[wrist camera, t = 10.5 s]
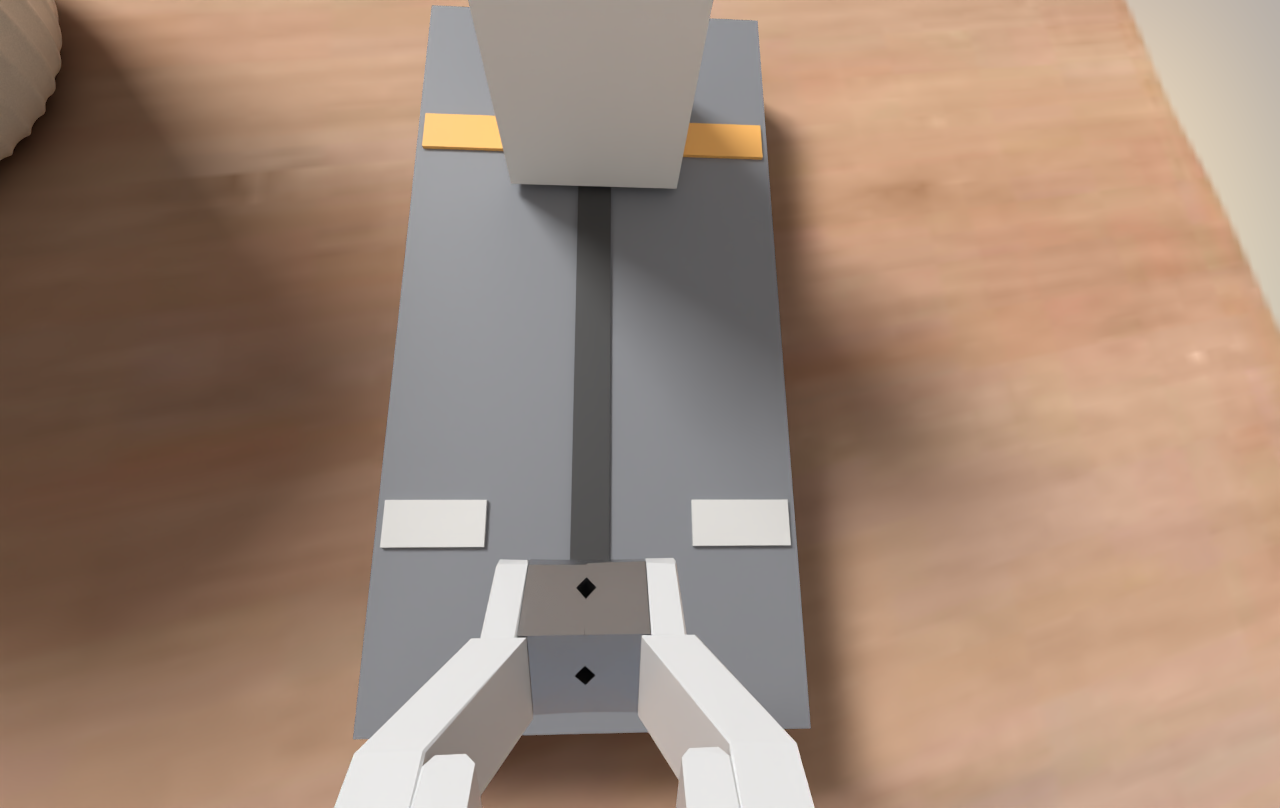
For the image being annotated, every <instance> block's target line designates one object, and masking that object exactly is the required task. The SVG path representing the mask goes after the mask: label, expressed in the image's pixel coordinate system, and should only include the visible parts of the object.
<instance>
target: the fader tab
mask: <svg viewBox="0 0 1280 808" xmlns="http://www.w3.org/2000/svg"><path fill="white" fill-rule="evenodd" d="M468 2H469V6H470V10H471V15H472V19H473V23H474V27H475V32H476V36H477V40H478V44H479V49H480V53H481V57H482V61H483V66H484V70H485V74H486V79H487V83H488V87H489V91H490V96H491V100H492V104H493V108H494V113H495V117H496V121H497V125H498V130H499V134H500V138H501V142H502V147H503V151H504V155H505V159H506V164H507V168H508V172H509V176H510V181H511V184H535V185H569V186H602V187H635V188H668V189H677V184H678V179H679V174H680V169H681V164H682V158H683V153H684V148H685V143H686V138H687V133H688V127H689V122H690V117H691V112H692V107H693V102H694V96H695V91H696V86H697V81H698V76H699V71H700V65H701V60H702V55H703V50H704V45H705V40H706V34H707V29H708V24H709V19H710V14H711V9H712V3H713V0H468Z"/></svg>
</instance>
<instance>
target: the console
mask: <svg viewBox="0 0 1280 808" xmlns="http://www.w3.org/2000/svg"><path fill="white" fill-rule="evenodd" d="M645 558H674V560H675V561H676V565H677V572H678V579H679V586H680V593H681V600H682V607H683V614H684V620H685V627H686V634H687V635H696V636H697V637H698V638H699V639H700V640H701V641H702V642H703V643H704V644H705V646H706V647H707V648H708V649H709V650H710V651H711V652H712V653H713V654H714V655H715V656H716V657H717V658H718V659H719V661H720V662H721V663H722V664H723V665H724V666H725V667H726V668H727V669H728V670H729V671H730V672H731V673H732V674H733V676H734V677H735V678H736V679H737V680H738V681H739V682H740V683H741V684H742V685H743V686H744V687H745V688H746V689H747V691H748V692H749V693H750V694H751V695H752V696H753V697H754V698H755V699H756V700H757V701H758V702H759V703H760V704H761V706H762V707H763V708H764V709H765V710H766V711H767V712H768V713H769V714H770V715H771V716H772V717H773V718H774V719H775V720H776V722H777V723H778V724H779V725H780V726H781V727H782V728H783V729H805V728H811V725H810V712H809V699H808V686H807V672H806V659H805V646H804V633H803V619H802V606H801V593H800V579H799V566H798V553H797V540H796V526H795V513H794V500H793V487H792V473H791V460H790V447H789V433H788V420H787V407H786V394H785V380H784V367H783V354H782V341H781V327H780V314H779V301H778V288H777V274H776V261H775V248H774V234H773V221H772V208H771V195H770V181H769V168H768V155H767V142H766V128H765V115H764V102H763V89H762V75H761V62H760V49H759V35H758V22H757V21H752V20H731V19H709V24H708V29H707V34H706V40H705V45H704V50H703V55H702V60H701V65H700V71H699V76H698V81H697V86H696V91H695V96H694V102H693V107H692V112H691V117H690V122H689V127H688V133H687V138H686V143H685V148H684V153H683V158H682V164H681V169H680V174H679V179H678V184H677V189H668V188H635V187H602V186H569V185H535V184H511V181H510V176H509V172H508V168H507V164H506V159H505V155H504V151H503V147H502V142H501V138H500V134H499V130H498V125H497V121H496V117H495V113H494V108H493V104H492V100H491V96H490V91H489V87H488V83H487V79H486V74H485V70H484V66H483V61H482V57H481V53H480V49H479V44H478V40H477V36H476V32H475V27H474V23H473V19H472V15H471V10H470V7H455V6H434V5H432V9H431V18H430V28H429V37H428V46H427V56H426V65H425V74H424V83H423V93H422V102H421V111H420V121H419V130H418V139H417V149H416V158H415V167H414V176H413V186H412V195H411V204H410V214H409V223H408V232H407V242H406V251H405V260H404V270H403V279H402V288H401V297H400V307H399V316H398V325H397V335H396V344H395V353H394V363H393V372H392V381H391V390H390V400H389V409H388V418H387V428H386V437H385V446H384V456H383V465H382V474H381V484H380V493H379V502H378V511H377V521H376V530H375V539H374V549H373V558H372V567H371V577H370V586H369V595H368V604H367V614H366V623H365V632H364V642H363V651H362V660H361V670H360V679H359V688H358V698H357V707H356V716H355V725H354V735H353V739H370V738H371V737H372V736H373V735H374V734H375V733H376V732H377V731H378V730H379V729H380V728H381V727H382V726H383V725H384V724H385V723H386V722H387V721H388V720H389V719H390V718H391V717H392V716H393V715H394V714H395V713H396V712H397V711H398V710H399V709H400V708H401V707H402V706H403V705H404V704H405V703H406V702H407V701H408V700H409V699H410V698H411V697H412V696H413V695H414V694H415V693H416V692H417V691H418V690H419V689H420V688H421V687H422V686H423V685H424V684H425V683H426V682H427V681H428V680H430V679H431V678H432V677H433V676H434V675H435V674H436V673H437V672H438V671H439V670H440V669H441V668H442V667H443V666H444V665H445V664H446V663H447V662H448V661H449V660H450V659H451V658H452V657H453V656H454V655H455V654H456V653H457V652H458V651H459V650H460V649H461V648H462V647H463V646H464V645H465V644H466V643H467V642H468V641H469V640H470V639H472V638H480V637H481V632H482V628H483V623H484V619H485V614H486V610H487V605H488V601H489V596H490V592H491V587H492V583H493V578H494V574H495V569H496V566H497V564H498V562H499V560H500V559H507V560H530V559H548V560H600V559H644V560H645ZM638 732H648V731H647V729H646V727H645V726H644V724H643V723H642V721H641V720H640V718H639V716H638V712H579V713H561V714H542V715H533V719H532V721H531V722H530V724H529V725H528V727H527V728H526V730H525V731H524V733H523V734H522V735H554V734H596V733H638Z"/></svg>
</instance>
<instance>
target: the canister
mask: <svg viewBox="0 0 1280 808" xmlns="http://www.w3.org/2000/svg"><path fill="white" fill-rule="evenodd" d="M58 22H59V17H58V12H57V7H56V4H55V1H54V0H0V160H2V159H3V158H5V157H7V156H11V155H12V154H13V150H14V148H15V146H16V144H17V143H18V142H19V141H20V140H22V139H23V138H25V137H27V136H29V135H30V134H31V128H32V126H33V124H34V122H35V121H36V120H37V119H38V118H39V117H40V116H42V115H43V114H44V113H45V104H46V101H47V98H48V97H49V96H51V95H52V94H53V93H54V91H55V87H56V83H55V76H56V75H57V74H58V73H59V71H60V68H61V57H60V50H61V47H62V34H61V29H60V26H59V24H58Z"/></svg>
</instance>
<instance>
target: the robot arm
mask: <svg viewBox="0 0 1280 808" xmlns="http://www.w3.org/2000/svg"><path fill="white" fill-rule="evenodd" d="M579 712H638V716H639V718H640V720H641V721H642V723H643V724H644V726H645V727H646V729H647V731H648V732H649V734H650V735H651V737H652V739H653V740H654V742H655V743H656V745H657V747H658V748H659V750H660V751H661V753H662V754H663V756H664V758H665V759H666V761H667V762H668V764H669V766H670V767H671V769H672V770H673V772H674V774H675V775H676V777H677V778H678V780H679V785H678V793H677V801H676V808H815V807H814V804H813V800H812V797H811V793H810V790H809V786H808V782H807V779H806V775H805V772H804V768H803V765H802V761H801V757H800V754H799V750H798V747H797V743H796V742H795V741H794V740H793V739H792V738H791V737H790V735H789V734H788V733H787V732H786V731H785V730H784V729H783V728H782V727H781V726H780V725H779V724H778V723H777V722H776V720H775V719H774V718H773V717H772V716H771V715H770V714H769V713H768V712H767V711H766V710H765V709H764V708H763V707H762V706H761V704H760V703H759V702H758V701H757V700H756V699H755V698H754V697H753V696H752V695H751V694H750V693H749V692H748V691H747V689H746V688H745V687H744V686H743V685H742V684H741V683H740V682H739V681H738V680H737V679H736V678H735V677H734V676H733V674H732V673H731V672H730V671H729V670H728V669H727V668H726V667H725V666H724V665H723V664H722V663H721V662H720V661H719V659H718V658H717V657H716V656H715V655H714V654H713V653H712V652H711V651H710V650H709V649H708V648H707V647H706V646H705V644H704V643H703V642H702V641H701V640H700V639H699V638H698V637H697V636H696V635H687V634H686V627H685V620H684V614H683V607H682V600H681V593H680V586H679V579H678V572H677V565H676V561H675V560H674V558H645V560H644V559H600V560H548V559H530V560H507V559H500V560H499V562H498V564H497V566H496V569H495V574H494V578H493V583H492V587H491V592H490V596H489V601H488V605H487V610H486V614H485V619H484V623H483V628H482V632H481V637H480V638H472V639H470V640H469V641H468V642H467V643H466V644H465V645H464V646H463V647H462V648H461V649H460V650H459V651H458V652H457V653H456V654H455V655H454V656H453V657H452V658H451V659H450V660H449V661H448V662H447V663H446V664H445V665H444V666H443V667H442V668H441V669H440V670H439V671H438V672H437V673H436V674H435V675H434V676H433V677H432V678H431V679H430V680H428V681H427V682H426V683H425V684H424V685H423V686H422V687H421V688H420V689H419V690H418V691H417V692H416V693H415V694H414V695H413V696H412V697H411V698H410V699H409V700H408V701H407V702H406V703H405V704H404V705H403V706H402V707H401V708H400V709H399V710H398V711H397V712H396V713H395V714H394V715H393V716H392V717H391V718H390V719H389V720H388V721H387V722H386V723H385V724H384V725H383V726H382V727H381V728H380V729H379V730H378V731H377V732H376V733H375V734H374V735H373V736H372V737H371V738H370V739H369V740H368V741H367V742H366V743H365V744H364V745H363V746H362V747H361V748H360V749H359V750H358V751H357V752H356V753H355V754H354V755H353V758H352V761H351V763H350V766H349V769H348V772H347V774H346V777H345V780H344V782H343V785H342V788H341V790H340V793H339V796H338V799H337V801H336V804H335V807H334V808H482V802H481V795H482V793H483V792H484V790H485V789H486V787H487V786H488V784H489V783H490V781H491V780H492V778H493V777H494V775H495V774H496V772H497V771H498V770H499V768H500V767H501V765H502V764H503V762H504V761H505V759H506V758H507V756H508V755H509V753H510V752H511V750H512V749H513V747H514V746H515V744H516V743H517V741H518V740H519V739H520V737H521V736H522V734H523V733H524V731H525V730H526V728H527V727H528V725H529V724H530V722H531V721H532V719H533V715H542V714H561V713H579Z"/></svg>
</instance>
